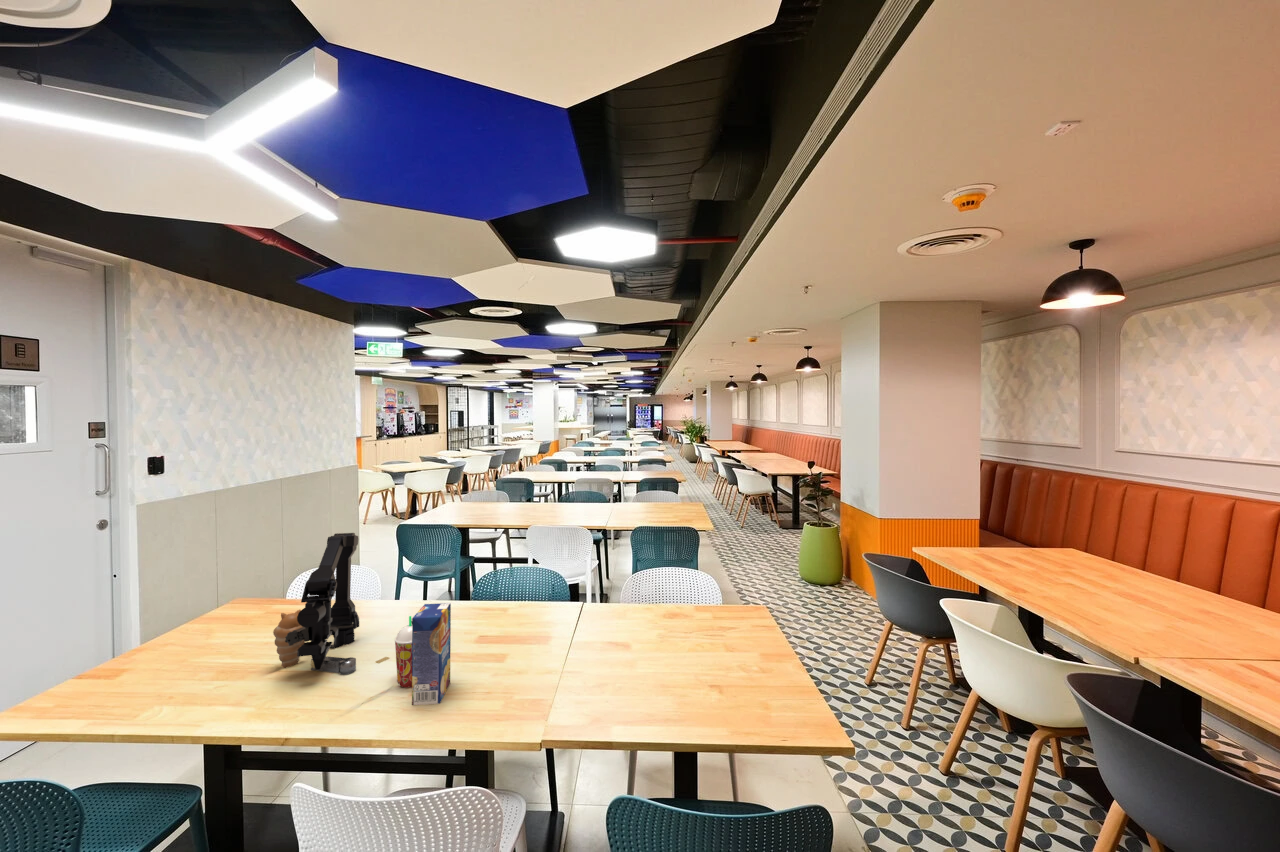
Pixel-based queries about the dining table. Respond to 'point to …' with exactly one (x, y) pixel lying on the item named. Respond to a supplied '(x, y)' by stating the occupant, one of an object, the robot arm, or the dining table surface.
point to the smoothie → (404, 655)
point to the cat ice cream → (280, 632)
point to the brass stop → (382, 660)
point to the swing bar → (337, 665)
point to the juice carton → (431, 653)
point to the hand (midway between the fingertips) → (317, 669)
